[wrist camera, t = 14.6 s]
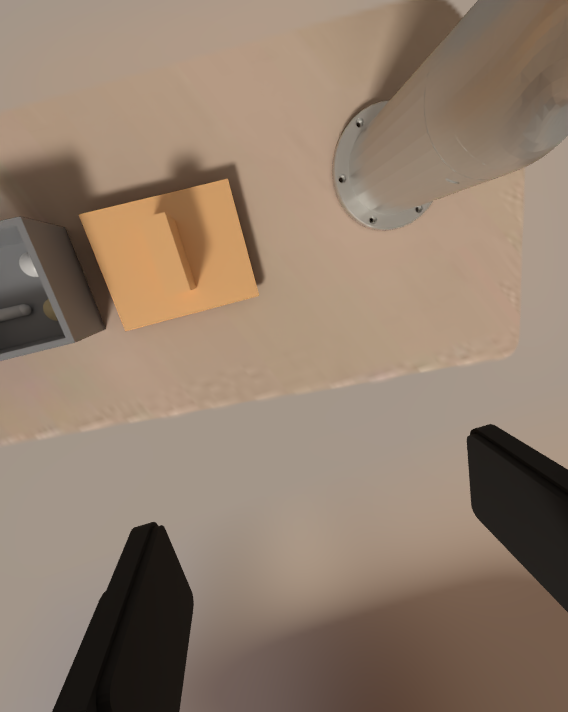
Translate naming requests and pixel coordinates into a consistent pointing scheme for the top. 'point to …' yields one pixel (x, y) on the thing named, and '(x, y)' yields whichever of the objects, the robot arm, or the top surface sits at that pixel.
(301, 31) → the top surface
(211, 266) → the lid
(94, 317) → the tub
